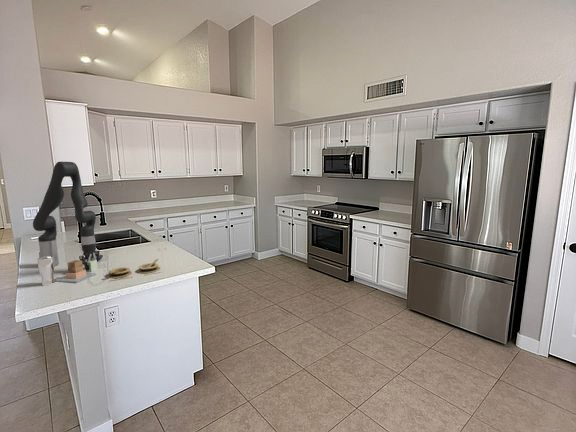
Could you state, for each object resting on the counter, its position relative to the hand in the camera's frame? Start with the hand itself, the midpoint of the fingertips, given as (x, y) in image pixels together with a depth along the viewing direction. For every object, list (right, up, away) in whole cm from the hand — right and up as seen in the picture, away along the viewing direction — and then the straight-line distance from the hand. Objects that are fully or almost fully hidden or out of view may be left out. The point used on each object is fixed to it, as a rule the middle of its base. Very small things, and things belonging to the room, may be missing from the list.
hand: (91, 268), depth 196 cm
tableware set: (+30, -2, -4) cm, 30 cm away
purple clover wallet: (-10, +1, +18) cm, 20 cm away
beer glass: (-9, -5, -23) cm, 25 cm away
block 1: (0, +1, -15) cm, 15 cm away
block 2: (0, -1, 0) cm, 1 cm away
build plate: (0, -3, -14) cm, 14 cm away
